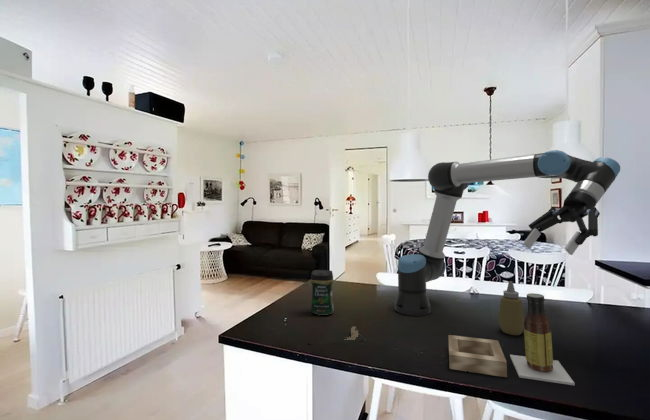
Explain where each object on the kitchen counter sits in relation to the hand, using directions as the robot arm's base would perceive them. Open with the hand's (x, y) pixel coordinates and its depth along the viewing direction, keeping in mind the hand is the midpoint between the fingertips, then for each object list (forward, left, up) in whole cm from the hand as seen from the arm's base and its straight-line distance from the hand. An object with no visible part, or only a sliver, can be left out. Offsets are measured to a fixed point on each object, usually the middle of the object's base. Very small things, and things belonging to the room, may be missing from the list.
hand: (545, 248), depth 96 cm
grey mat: (-5, -13, -32) cm, 35 cm away
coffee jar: (-78, +12, -32) cm, 85 cm away
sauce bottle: (-5, -12, -31) cm, 34 cm away
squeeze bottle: (-7, +13, -32) cm, 35 cm away
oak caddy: (-21, -13, -32) cm, 40 cm away
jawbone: (-65, -9, -32) cm, 74 cm away
